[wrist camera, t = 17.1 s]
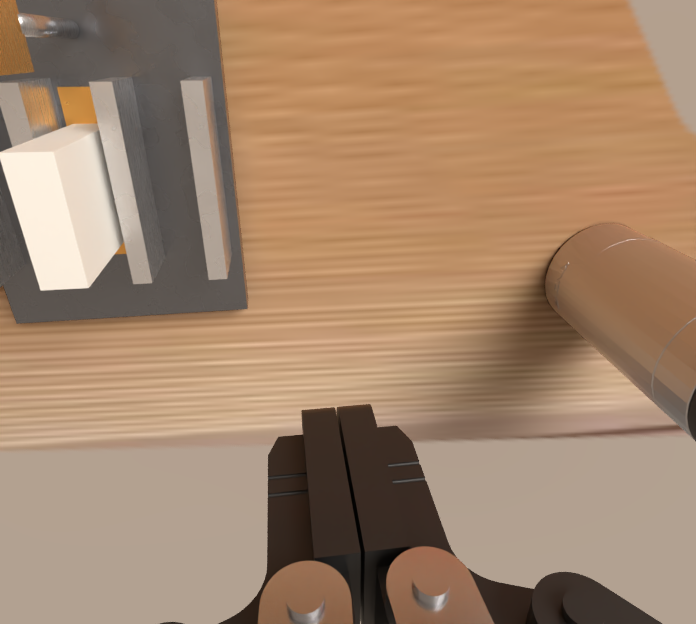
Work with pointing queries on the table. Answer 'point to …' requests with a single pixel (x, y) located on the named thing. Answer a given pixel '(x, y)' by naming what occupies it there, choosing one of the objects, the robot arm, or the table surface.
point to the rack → (128, 150)
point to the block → (64, 205)
